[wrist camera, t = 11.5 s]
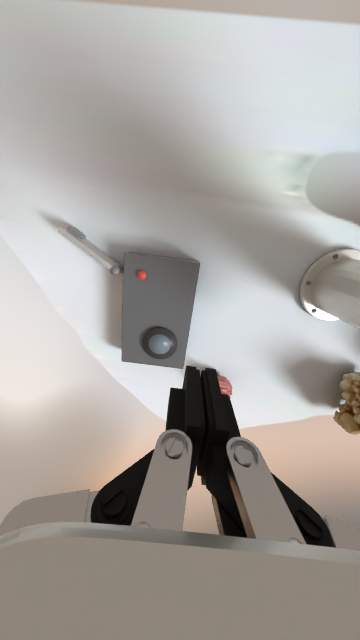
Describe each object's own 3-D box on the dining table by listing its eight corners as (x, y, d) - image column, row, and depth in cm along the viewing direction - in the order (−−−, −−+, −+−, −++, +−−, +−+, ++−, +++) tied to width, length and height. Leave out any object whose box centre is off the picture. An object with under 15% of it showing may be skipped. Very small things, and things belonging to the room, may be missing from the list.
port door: (122, 273, 36) (115, 276, 32) (70, 233, 34) (56, 232, 30) (127, 266, 35) (120, 268, 32) (74, 225, 33) (61, 223, 30)
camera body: (198, 261, 35) (200, 263, 31) (183, 358, 42) (183, 370, 38) (128, 251, 35) (121, 252, 30) (125, 351, 42) (119, 362, 38)
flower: (246, 387, 37) (225, 405, 35) (238, 404, 43) (220, 421, 41) (216, 359, 42) (196, 374, 40) (213, 378, 48) (195, 392, 45)
